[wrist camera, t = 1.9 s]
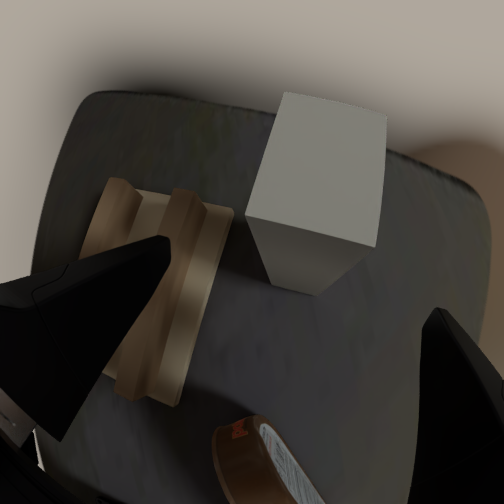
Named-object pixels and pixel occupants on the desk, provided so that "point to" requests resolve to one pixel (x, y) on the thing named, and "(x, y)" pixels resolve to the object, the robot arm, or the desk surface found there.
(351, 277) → the desk surface
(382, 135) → the clay bar
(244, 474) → the tin
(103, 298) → the robot arm
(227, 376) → the desk surface
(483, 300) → the desk surface
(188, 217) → the rack
